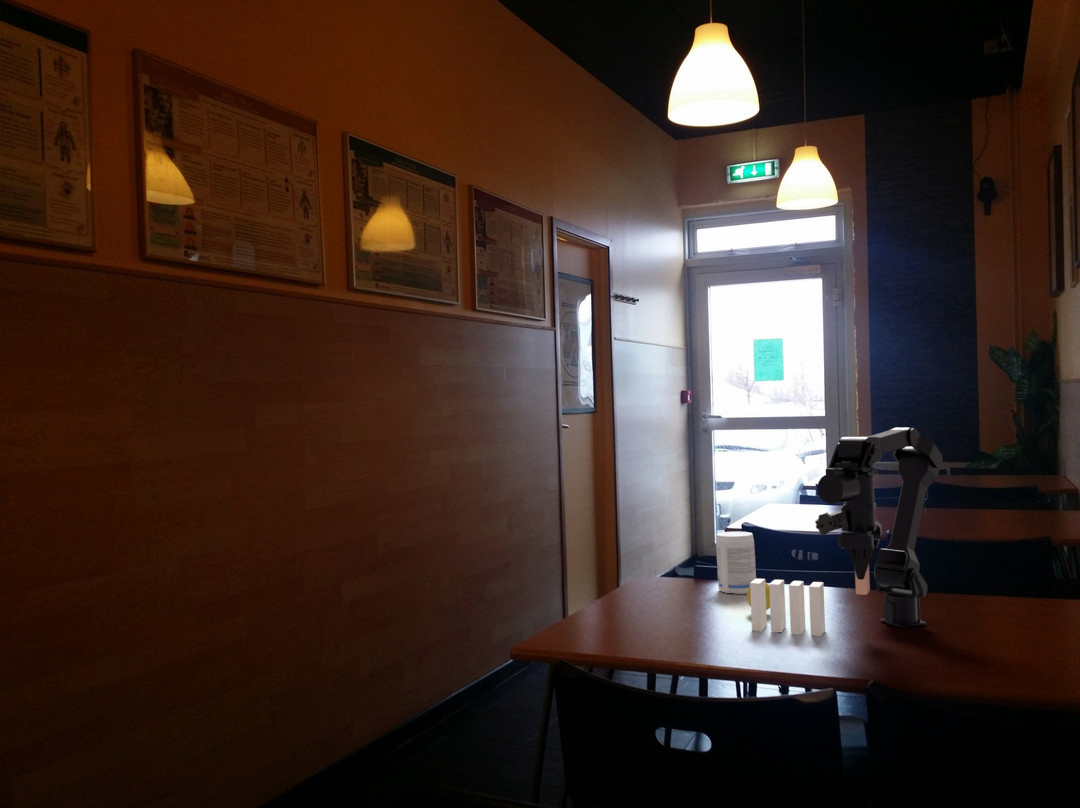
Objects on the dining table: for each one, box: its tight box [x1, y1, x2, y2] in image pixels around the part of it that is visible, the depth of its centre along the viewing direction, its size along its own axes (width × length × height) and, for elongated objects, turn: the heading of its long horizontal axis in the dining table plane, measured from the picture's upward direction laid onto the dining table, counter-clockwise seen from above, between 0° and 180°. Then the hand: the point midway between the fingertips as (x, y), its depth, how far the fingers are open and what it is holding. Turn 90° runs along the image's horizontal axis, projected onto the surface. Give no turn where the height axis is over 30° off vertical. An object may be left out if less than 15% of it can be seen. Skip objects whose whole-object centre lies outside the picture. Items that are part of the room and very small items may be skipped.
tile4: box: [768, 579, 787, 633], centre depth 180 cm, size 2×5×10 cm, turn 152°
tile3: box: [788, 580, 806, 635], centre depth 178 cm, size 2×5×10 cm, turn 153°
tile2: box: [808, 581, 826, 637], centre depth 176 cm, size 2×5×10 cm, turn 152°
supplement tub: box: [715, 531, 757, 595], centre depth 219 cm, size 10×10×15 cm
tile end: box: [750, 578, 768, 632], centre depth 182 cm, size 2×5×10 cm, turn 152°
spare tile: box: [854, 565, 871, 596], centre depth 172 cm, size 2×5×10 cm, turn 152°
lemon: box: [746, 581, 770, 611], centre depth 194 cm, size 6×6×8 cm
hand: (862, 576), depth 172 cm, fingers closed on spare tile, 5 cm apart
